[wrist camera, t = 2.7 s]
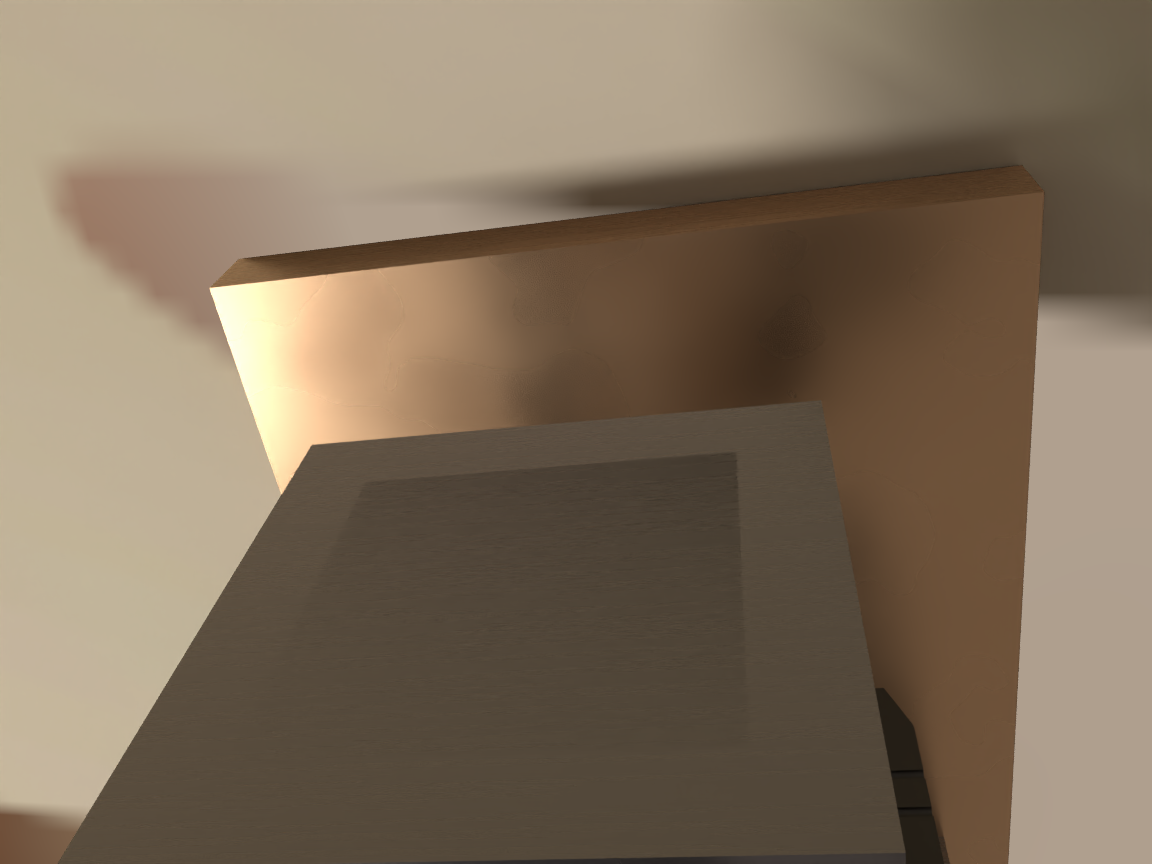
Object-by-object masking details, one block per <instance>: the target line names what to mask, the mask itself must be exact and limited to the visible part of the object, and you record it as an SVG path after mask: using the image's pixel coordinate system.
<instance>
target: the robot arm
mask: <svg viewBox="0 0 1152 864" xmlns="http://www.w3.org/2000/svg"><path fill="white" fill-rule="evenodd" d="M875 691H876V697H877V702H878V707H879V713H880V718H881V723H882V729H883V734H884V740H885V745H886V750H887V756H888V761H889V766H890V772H891V777H892V782H893V788H894V793H895V798H896V804H897V809H898V815H899V820H900V825H901V831H902V836H903V841H904V847H905V852H906V864H944V861H943V856H942V852H941V847H940V842H939V838H938V833H937V829H936V824H935V820H934V816H933V815H932V806H931V802H930V797H929V793H928V788H927V784H926V779H925V778H924V771H923V765H922V761H921V756H920V752H919V747H918V743H917V738H916V734H915V729H914V725H913V724H912V723H911V721H910V720H909V719H908V718H907V716H906V715H905V714H904V713H903V711H902V710H901V709H900V708H899V706H898V705H897V704H896V703H895V701H894V700H893V699H892V698H891V696H890V695H889V694H888V693H887V691H886V690H885V689H884V688H875Z"/></svg>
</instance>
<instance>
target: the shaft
mask: <svg viewBox="0 0 1152 864" xmlns="http://www.w3.org/2000/svg"><path fill="white" fill-rule="evenodd" d="M58 864H906V852H905V847H904V841H903V836H902V831H901V825H900V820H899V815H898V809H897V804H896V798H895V793H894V788H893V782H892V777H891V772H890V766H889V761H888V756H887V750H886V745H885V740H884V734H883V729H882V723H881V718H880V713H879V707H878V702H877V697H876V691H875V686H874V681H873V675H872V670H871V664H870V659H869V654H868V648H867V643H866V638H865V632H864V627H863V622H862V616H861V611H860V605H859V600H858V595H857V589H856V584H855V579H854V573H853V568H852V563H851V557H850V552H849V546H848V541H847V536H846V530H845V525H844V520H843V514H842V509H841V504H840V498H839V493H838V487H837V482H836V477H835V471H834V466H833V461H832V455H831V450H830V445H829V439H828V434H827V428H826V423H825V418H824V412H823V407H822V402H821V400H819V401H807V402H796V403H784V404H773V405H761V406H750V407H739V408H727V409H716V410H704V411H693V412H681V413H670V414H659V415H647V416H636V417H624V418H613V419H602V420H590V421H579V422H567V423H556V424H544V425H533V426H522V427H510V428H499V429H487V430H476V431H464V432H453V433H442V434H430V435H419V436H407V437H396V438H384V439H373V440H362V441H350V442H339V443H327V444H316V445H311V447H310V449H309V450H308V452H307V454H306V455H305V457H304V459H303V460H302V462H301V464H300V465H299V467H298V468H297V470H296V472H295V473H294V475H293V477H292V478H291V480H290V482H289V483H288V485H287V487H286V488H285V490H284V492H283V493H282V495H281V496H280V498H279V500H278V501H277V503H276V505H275V506H274V508H273V510H272V511H271V513H270V515H269V516H268V518H267V520H266V521H265V523H264V524H263V526H262V528H261V529H260V531H259V533H258V534H257V536H256V538H255V539H254V541H253V543H252V544H251V546H250V548H249V549H248V551H247V552H246V554H245V556H244V557H243V559H242V561H241V562H240V564H239V566H238V567H237V569H236V571H235V572H234V574H233V576H232V577H231V579H230V580H229V582H228V584H227V585H226V587H225V589H224V590H223V592H222V594H221V595H220V597H219V599H218V600H217V602H216V604H215V605H214V607H213V608H212V610H211V612H210V613H209V615H208V617H207V618H206V620H205V622H204V623H203V625H202V627H201V628H200V630H199V632H198V633H197V635H196V636H195V638H194V640H193V641H192V643H191V645H190V646H189V648H188V650H187V651H186V653H185V655H184V656H183V658H182V660H181V661H180V663H179V665H178V666H177V668H176V669H175V671H174V673H173V674H172V676H171V678H170V679H169V681H168V683H167V684H166V686H165V688H164V689H163V691H162V693H161V694H160V696H159V697H158V699H157V701H156V702H155V704H154V706H153V707H152V709H151V711H150V712H149V714H148V716H147V717H146V719H145V721H144V722H143V724H142V725H141V727H140V729H139V730H138V732H137V734H136V735H135V737H134V739H133V740H132V742H131V744H130V745H129V747H128V749H127V750H126V752H125V753H124V755H123V757H122V758H121V760H120V762H119V763H118V765H117V767H116V768H115V770H114V772H113V773H112V775H111V777H110V778H109V780H108V781H107V783H106V785H105V786H104V788H103V790H102V791H101V793H100V795H99V796H98V798H97V800H96V801H95V803H94V805H93V806H92V808H91V809H90V811H89V813H88V814H87V816H86V818H85V819H84V821H83V823H82V824H81V826H80V828H79V829H78V831H77V833H76V834H75V836H74V838H73V839H72V841H71V842H70V844H69V846H68V847H67V849H66V851H65V852H64V854H63V856H62V857H61V859H60V861H59V862H58Z"/></svg>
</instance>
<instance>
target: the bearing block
mask: <svg viewBox="0 0 1152 864" xmlns="http://www.w3.org/2000/svg"><path fill="white" fill-rule="evenodd" d="M1043 206H1044V191H1043V190H1042V189H1041V187H1040V186H1039V185H1038V184H1037V183H1036V181H1035V180H1034V179H1033V178H1032V177H1031V175H1030V174H1029V173H1028V172H1027V171H1026V170H1025V168H1024V167H1023V166H1022V165H1020V166H1012V167H1004V168H995V169H987V170H979V171H970V172H962V173H954V174H945V175H937V176H928V177H920V178H912V179H903V180H895V181H887V182H878V183H870V184H862V185H853V186H845V187H837V188H828V189H820V190H811V191H803V192H795V193H786V194H778V195H770V196H761V197H753V198H745V199H736V200H728V201H719V202H711V203H703V204H694V205H686V206H678V207H669V208H661V209H653V210H644V211H636V212H628V213H619V214H611V215H602V216H594V217H586V218H577V219H569V220H561V221H552V222H544V223H536V224H527V225H519V226H511V227H502V228H494V229H485V230H477V231H469V232H460V233H452V234H444V235H435V236H427V237H419V238H410V239H402V240H394V241H386V242H377V243H369V244H361V245H352V246H344V247H336V248H327V249H318V250H310V251H302V252H293V253H285V254H277V255H268V256H260V257H252V258H243V259H239V260H237V261H236V262H235V263H234V264H233V265H232V266H231V267H230V268H229V269H228V270H227V271H226V272H225V273H224V274H223V276H221V277H220V278H219V279H218V280H217V281H216V282H215V283H214V284H213V285H212V286H211V287H210V291H211V294H212V297H213V299H214V302H215V305H216V308H217V311H218V314H219V317H220V319H221V322H222V325H223V328H224V331H225V334H226V337H227V340H228V343H229V345H230V348H231V351H232V354H233V357H234V360H235V363H236V366H237V368H238V371H239V374H240V377H241V380H242V383H243V386H244V389H245V391H246V394H247V397H248V400H249V403H250V406H251V409H252V412H253V414H254V417H255V420H256V423H257V426H258V429H259V432H260V435H261V437H262V440H263V443H264V446H265V449H266V452H267V455H268V458H269V460H270V463H271V466H272V469H273V472H274V475H275V478H276V481H277V483H278V486H279V489H280V492H281V495H282V493H283V492H284V490H285V488H286V487H287V485H288V483H289V482H290V480H291V478H292V477H293V475H294V473H295V472H296V470H297V468H298V467H299V465H300V464H301V462H302V460H303V459H304V457H305V455H306V454H307V452H308V450H309V449H310V447H311V445H316V444H327V443H339V442H350V441H362V440H373V439H384V438H396V437H407V436H419V435H430V434H442V433H453V432H464V431H476V430H487V429H499V428H510V427H522V426H533V425H544V424H556V423H567V422H579V421H590V420H602V419H613V418H624V417H636V416H647V415H659V414H670V413H681V412H693V411H704V410H716V409H727V408H739V407H750V406H761V405H773V404H784V403H796V402H807V401H819V400H821V402H822V407H823V412H824V418H825V423H826V428H827V434H828V439H829V445H830V450H831V455H832V461H833V466H834V471H835V477H836V482H837V487H838V493H839V498H840V504H841V509H842V514H843V520H844V525H845V530H846V536H847V541H848V546H849V552H850V557H851V563H852V568H853V573H854V579H855V584H856V589H857V595H858V600H859V605H860V611H861V616H862V622H863V627H864V632H865V638H866V643H867V648H868V654H869V659H870V664H871V670H872V675H873V681H874V686H875V688H884V689H885V690H886V691H887V693H888V694H889V695H890V696H891V698H892V699H893V700H894V701H895V703H896V704H897V705H898V706H899V708H900V709H901V710H902V711H903V713H904V714H905V715H906V716H907V718H908V719H909V720H910V721H911V723H912V724H913V725H914V729H915V734H916V738H917V743H918V747H919V752H920V756H921V761H922V765H923V771H924V778H925V779H926V784H927V788H928V793H929V797H930V802H931V806H932V815H933V816H934V820H935V824H936V829H937V833H938V838H939V842H940V847H941V852H942V856H943V861H944V864H1008V856H1009V838H1010V837H1009V836H1010V819H1011V800H1012V782H1013V763H1014V744H1015V726H1016V708H1017V689H1018V671H1019V650H1020V633H1021V614H1022V596H1023V577H1024V558H1025V540H1026V522H1027V503H1028V484H1029V466H1030V448H1031V429H1032V410H1033V392H1034V373H1035V355H1036V336H1037V318H1038V299H1039V281H1040V262H1041V243H1042V225H1043Z"/></svg>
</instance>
